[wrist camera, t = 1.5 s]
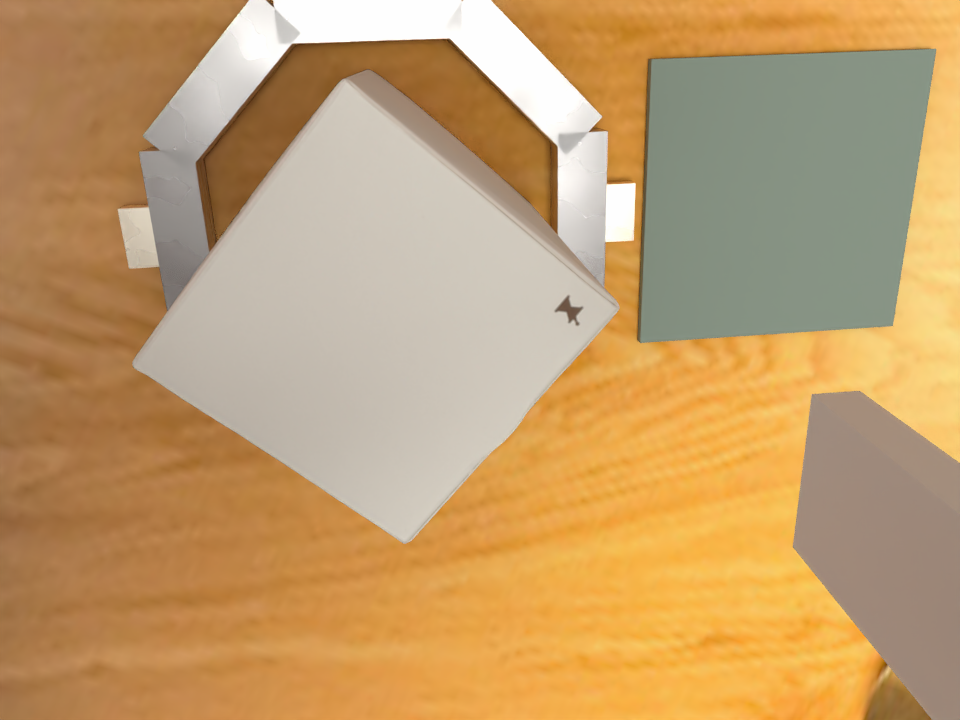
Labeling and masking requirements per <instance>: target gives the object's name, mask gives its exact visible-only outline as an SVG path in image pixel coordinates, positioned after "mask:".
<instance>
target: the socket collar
mask: <svg viewBox="0 0 960 720" xmlns="http://www.w3.org/2000/svg"><path fill="white" fill-rule="evenodd" d="M273 3H274V5H273V4H272V3H271V2H270V1H269V0H249V1H248V2H247V4H246V5H245V6H244V8H243V9H242V10H241V11H240V13H239V14H238V15H237V16H236V18H235V19H234V20H233V22H232V23H231V24H230V25H229V27H228V28H227V29H226V30H225V32H224V33H223V34H222V36H221V37H220V38H219V39H218V41H217V42H216V43H215V44H214V46H213V47H212V48H211V49H210V51H209V52H208V53H207V55H206V56H205V57H204V58H203V60H202V61H201V62H200V63H199V65H198V66H197V67H196V69H195V70H194V71H193V72H192V74H191V75H190V76H189V77H188V79H187V80H186V81H185V83H184V84H183V85H182V86H181V88H180V89H179V90H178V91H177V93H176V94H175V95H174V97H173V98H172V99H171V100H170V102H169V103H168V104H167V105H166V107H165V108H164V109H163V110H162V112H161V113H160V114H159V116H158V117H157V118H156V119H155V121H154V122H153V123H152V124H151V126H150V127H149V128H148V130H147V131H146V132H145V133H144V135H143V137H144V138H145V139H147V140H148V141H149V142H150V143H151V144H153V145H154V146H155V147H154V148H148V149H145V150H142V151H139V156H140V162H141V167H142V173H143V178H144V184H145V189H146V195H147V201H148V204H144V205H124V206H122V207H120V208H118V214H119V219H120V224H121V229H122V234H123V240H124V245H125V250H126V255H127V260H128V266H129V269H130V268H148V267H159V268H160V273H161V279H162V284H163V290H164V296H165V301H166V307H167V311H168V310H169V308H170V307H171V306H172V304H173V303H174V301H175V300H176V298H177V297H178V296H179V294H180V293H181V291H182V290H183V289H184V287H185V286H186V284H187V283H188V282H189V280H190V279H191V277H192V276H193V275H194V273H195V272H196V270H197V269H198V268H199V266H200V265H201V263H202V262H203V261H204V259H205V258H206V256H207V255H208V254H209V252H210V251H211V250H212V248H213V247H214V245H215V244H216V243H217V241H216V235H215V228H214V222H213V215H212V208H211V202H210V195H209V189H208V182H207V175H206V169H205V162H204V158H205V156H206V155H207V154H208V153H209V151H210V150H211V149H212V148H213V147H214V145H215V144H216V143H217V142H218V140H219V139H220V138H221V137H222V135H223V134H224V133H225V132H226V131H227V129H228V128H229V127H230V126H231V124H232V123H233V122H234V121H235V119H236V118H237V117H238V116H239V115H240V113H241V112H242V111H243V110H244V108H245V107H246V106H247V105H248V103H249V102H250V101H251V100H252V98H253V97H254V96H255V95H256V94H257V92H258V91H259V90H260V89H261V87H262V86H263V85H264V84H265V82H266V81H267V80H268V79H269V78H270V76H271V75H272V74H273V73H274V71H275V70H276V69H277V68H278V66H279V65H280V64H281V63H282V62H283V60H284V59H285V58H286V57H287V55H288V54H289V53H290V52H291V50H292V49H293V48H294V47H295V46H296V44H318V43H348V42H378V41H408V40H438V39H447V40H448V41H449V42H450V43H451V44H452V45H453V46H454V47H455V48H456V49H457V50H458V51H459V52H460V53H461V54H462V55H463V56H464V57H465V58H466V59H467V60H468V61H469V62H470V63H471V64H472V65H473V66H474V67H475V68H476V69H477V70H478V71H479V72H480V73H481V74H482V75H483V76H484V77H485V78H486V79H487V80H488V81H489V82H490V83H491V84H492V85H493V86H494V87H495V88H496V89H497V90H498V91H499V92H500V93H501V94H503V95H504V96H505V97H506V98H507V99H508V100H509V101H510V102H511V103H512V104H513V105H514V106H515V107H516V108H517V109H518V110H519V111H520V112H521V113H522V114H523V115H524V116H525V117H526V118H527V119H528V120H529V121H530V122H531V123H532V124H533V125H534V126H535V127H536V128H537V129H538V130H539V131H540V132H541V133H542V134H543V135H544V136H545V137H546V138H547V139H548V140H549V141H550V142H551V228H552V229H553V230H554V231H555V232H556V234H557V235H558V236H559V237H560V238H561V239H562V241H563V242H564V243H565V244H566V245H567V246H568V247H569V249H570V250H571V251H572V252H573V253H574V254H575V255H576V257H577V258H578V259H579V260H580V261H581V262H582V263H583V265H584V266H585V267H586V268H587V269H588V270H589V271H590V272H591V274H592V275H593V276H594V277H595V278H596V279H597V280H598V281H599V283H600V284H601V285H602V286H603V287H604V278H605V242H615V241H633V239H634V210H635V183H634V182H632V181H612V182H607V146H608V131H606V130H603V129H600V128H592V127H593V126H594V125H595V124H596V123H597V122H598V121H599V120H600V119H601V118H602V116H601V115H600V114H599V113H598V112H597V111H596V110H595V108H594V107H593V106H592V105H591V104H590V103H589V102H588V101H587V100H586V99H585V98H584V97H583V96H582V95H581V94H580V93H579V92H578V91H577V90H576V89H575V88H574V87H573V86H572V84H571V83H570V82H569V81H568V80H567V79H566V78H565V77H564V76H563V75H562V74H561V73H560V72H559V71H558V70H557V69H556V68H555V67H554V66H553V65H552V64H551V63H550V62H549V61H548V59H547V58H546V57H545V56H544V55H543V54H542V53H541V52H540V51H539V50H538V49H537V48H536V47H535V46H534V45H533V44H532V43H531V42H530V41H529V40H528V39H527V38H526V37H525V35H524V34H523V33H522V32H521V31H520V30H519V29H518V28H517V27H516V26H515V25H514V24H513V23H512V22H511V21H510V20H509V19H508V18H507V17H506V16H505V15H504V14H503V13H502V12H501V10H500V9H499V8H498V7H497V6H496V5H495V4H494V3H493V2H492V1H491V0H273ZM591 128H592V129H591Z"/></svg>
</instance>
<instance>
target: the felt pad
mask: <svg viewBox="0 0 960 720" xmlns="http://www.w3.org/2000/svg"><path fill="white" fill-rule="evenodd" d="M935 55H936V49H918V50H890V51H862V52H835V53H807V54H779V55H752V56H724V57H696V58H669V59H649V63H648V89H647V114H646V140H645V165H644V191H643V217H642V242H641V268H640V294H639V319H638V341H639V342H640V343H645V342H660V341H675V340H690V339H705V338H720V337H735V336H750V335H765V334H780V333H795V332H810V331H825V330H840V329H855V328H870V327H885V326H893V321H894V315H895V308H896V302H897V296H898V289H899V283H900V277H901V270H902V264H903V258H904V251H905V245H906V239H907V232H908V226H909V220H910V213H911V207H912V201H913V194H914V188H915V182H916V175H917V169H918V162H919V156H920V150H921V143H922V137H923V131H924V124H925V118H926V112H927V105H928V99H929V93H930V86H931V80H932V74H933V67H934V61H935Z"/></svg>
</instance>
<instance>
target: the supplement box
mask: <svg viewBox="0 0 960 720" xmlns="http://www.w3.org/2000/svg"><path fill="white" fill-rule="evenodd" d="M618 310H619V304H618V303H617V301H616V300H615V299H614V298H613V297H612V296H611V295H610V294H609V293H608V292H607V290H606V289H605V288H604V287H603V286H602V285H601V284H600V283H599V281H598V280H597V279H596V278H595V277H594V276H593V275H592V274H591V272H590V271H589V270H588V269H587V268H586V267H585V266H584V265H583V263H582V262H581V261H580V260H579V259H578V258H577V257H576V255H575V254H574V253H573V252H572V251H571V250H570V249H569V247H568V246H567V245H566V244H565V243H564V242H563V241H562V239H561V238H560V237H559V236H558V235H557V234H556V232H555V231H554V230H553V229H552V228H551V227H550V226H549V224H548V223H547V222H546V221H545V220H544V219H543V218H542V216H541V215H540V214H539V213H538V212H537V211H536V210H535V208H534V207H533V206H532V205H531V204H530V203H529V202H528V201H527V200H526V199H525V198H524V197H523V196H522V195H520V194H519V193H518V192H517V191H516V190H515V189H514V188H513V187H511V186H510V185H509V184H508V183H507V182H506V181H505V180H504V179H503V178H501V177H500V176H499V175H498V174H497V173H496V172H495V171H494V170H492V169H491V168H490V167H489V166H488V165H487V164H486V163H484V162H483V161H482V160H481V159H480V158H479V157H478V156H476V155H475V154H474V153H473V152H472V151H471V150H470V149H468V148H467V147H466V146H465V145H464V144H463V143H461V142H460V141H459V140H458V139H457V138H456V137H454V136H453V135H452V134H451V133H450V132H449V131H447V130H446V129H445V128H444V127H443V126H441V125H440V124H439V123H438V122H437V121H436V120H434V119H433V118H432V117H431V116H430V115H428V114H427V113H426V112H425V111H424V110H423V109H421V108H420V107H419V106H418V105H417V104H416V103H414V102H413V101H412V100H411V99H409V98H408V97H407V96H405V95H404V94H403V93H402V92H400V91H399V90H398V89H396V88H395V87H394V86H393V85H391V84H390V83H389V82H388V81H386V80H385V79H384V78H382V77H381V76H379V75H378V74H377V73H375V72H373V71H372V70H370V69H367V70H365V71H362V72H360V73H357V74H355V75H352V76H349V77H347V78H345V79H342V80H341V81H340V82H339V83H338V84H337V85H336V86H335V88H334V89H333V90H332V91H331V93H330V94H329V95H328V97H327V98H326V99H325V100H324V102H323V103H322V104H321V105H320V107H319V108H318V109H317V110H316V112H315V113H314V114H313V115H312V117H311V118H310V119H309V120H308V122H307V123H306V124H305V125H304V127H303V128H302V129H301V131H300V132H299V133H298V134H297V136H296V137H295V138H294V140H293V141H292V142H291V143H290V145H289V146H288V147H287V149H286V150H285V151H284V152H283V154H282V155H281V156H280V158H279V159H278V160H277V161H276V163H275V164H274V165H273V167H272V168H271V169H270V171H269V172H268V173H267V175H266V176H265V177H264V179H263V180H262V181H261V183H260V184H259V185H258V187H257V188H256V189H255V190H254V192H253V193H252V195H251V196H250V197H249V199H248V200H247V202H246V203H245V204H244V206H243V207H242V208H241V210H240V211H239V213H238V214H237V215H236V217H235V218H234V219H233V221H232V222H231V223H230V225H229V226H228V228H227V229H226V230H225V232H224V233H223V234H222V236H221V237H220V239H219V240H218V241H217V243H216V244H215V245H214V247H213V248H212V250H211V251H210V252H209V254H208V255H207V256H206V258H205V259H204V261H203V262H202V263H201V265H200V266H199V268H198V269H197V270H196V272H195V273H194V275H193V276H192V277H191V279H190V280H189V282H188V283H187V284H186V286H185V287H184V289H183V290H182V291H181V293H180V294H179V296H178V297H177V298H176V300H175V301H174V303H173V304H172V306H171V307H170V308H169V310H168V311H167V313H166V314H165V316H164V317H163V318H162V320H161V321H160V323H159V324H158V326H157V327H156V328H155V330H154V331H153V333H152V334H151V336H150V337H149V338H148V340H147V341H146V343H145V344H144V345H143V347H142V348H141V349H140V351H139V352H138V354H137V355H136V356H135V358H134V360H133V362H132V364H133V368H135V369H136V370H138V371H140V372H142V373H144V374H145V375H147V376H149V377H150V378H152V379H153V380H155V381H156V382H158V383H159V384H161V385H162V386H164V387H165V388H167V389H168V390H170V391H171V392H173V393H174V394H176V395H177V396H179V397H180V398H182V399H183V400H185V401H186V402H188V403H189V404H191V405H193V406H194V407H196V408H197V409H199V410H200V411H202V412H203V413H205V414H207V415H209V416H211V417H212V418H213V419H215V420H216V421H218V422H219V423H221V424H223V425H224V426H226V427H228V428H229V429H231V430H232V431H234V432H236V433H237V434H239V435H240V436H242V437H243V438H245V439H246V440H248V441H249V442H251V443H252V444H254V445H256V446H257V447H259V448H260V449H262V450H263V451H265V452H266V453H268V454H270V455H271V456H273V457H274V458H276V459H277V460H279V461H280V462H282V463H283V464H285V465H286V466H288V467H289V468H291V469H292V470H294V471H295V472H297V473H298V474H300V475H301V476H303V477H304V478H306V479H307V480H309V481H310V482H312V483H314V484H315V485H317V486H318V487H320V488H321V489H323V490H324V491H326V492H327V493H328V494H330V495H331V496H333V497H334V498H336V499H337V500H339V501H340V502H342V503H343V504H345V505H346V506H348V507H350V508H351V509H353V510H354V511H356V512H357V513H359V514H360V515H362V516H363V517H365V518H366V519H368V520H369V521H371V522H372V523H374V524H376V525H377V526H379V527H380V528H381V529H383V530H384V531H386V532H387V533H389V534H390V535H392V536H393V537H395V538H396V539H398V540H399V541H401V542H402V543H404V544H406V543H408V542H410V541H411V540H412V539H413V538H414V537H415V536H416V535H417V534H418V533H419V532H420V531H421V529H422V528H423V527H424V526H425V525H426V524H427V523H428V522H429V521H430V519H431V518H432V517H433V516H434V515H435V514H436V513H437V512H438V511H439V509H440V508H441V507H442V506H443V505H444V504H445V503H446V502H447V501H448V499H449V498H450V497H451V496H452V495H453V494H454V493H455V492H456V491H457V489H458V488H459V487H460V486H461V485H462V484H463V483H464V482H465V481H466V479H467V478H468V477H469V476H470V475H471V474H472V473H473V472H474V470H475V469H476V468H477V467H478V466H479V465H480V464H481V463H482V462H483V461H484V460H485V458H486V457H487V456H488V455H489V454H490V453H491V452H492V451H493V450H495V449H496V448H497V447H498V446H499V445H501V444H502V443H503V442H504V441H505V440H506V439H507V438H508V437H509V436H510V435H511V434H512V433H513V432H514V430H515V429H516V428H517V427H518V425H519V424H520V422H521V421H522V420H523V418H524V417H525V415H526V413H527V412H528V411H529V410H530V409H531V408H532V406H533V405H534V404H535V403H536V402H537V401H538V400H539V399H540V397H541V396H542V395H543V394H544V393H545V392H546V391H547V390H548V388H549V387H550V386H551V385H552V384H553V383H554V382H555V380H556V379H557V378H558V377H559V376H560V375H561V374H562V373H563V372H564V371H565V370H566V369H567V367H568V366H569V365H570V364H571V363H572V362H573V361H574V360H575V359H576V358H577V357H578V356H579V355H580V353H581V352H582V351H583V350H584V349H585V348H586V347H587V346H588V345H589V344H590V343H591V341H592V340H593V339H594V338H595V337H596V336H597V334H598V333H599V332H600V331H601V330H602V329H603V328H604V327H605V326H606V324H607V323H608V322H609V321H610V320H611V319H612V318H613V316H614V315H615V314H616V313H617V312H618Z"/></svg>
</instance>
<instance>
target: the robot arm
mask: <svg viewBox="0 0 960 720" xmlns="http://www.w3.org/2000/svg"><path fill="white" fill-rule="evenodd" d="M793 548H794V549H795V550H796V551H797V553H798V554H799V555H800V556H801V558H802V559H803V560H804V561H805V563H806V564H807V565H808V566H809V568H810V569H811V570H812V571H813V572H814V574H815V575H816V576H817V577H818V579H819V580H820V581H821V582H822V584H823V585H824V586H825V587H826V589H827V590H828V591H829V592H830V594H831V595H832V596H833V597H834V599H835V600H836V601H837V602H838V603H839V605H840V606H841V607H842V608H843V610H844V611H845V612H846V613H847V615H848V616H849V617H850V618H851V620H852V621H853V622H854V623H855V625H856V626H857V627H858V628H859V629H860V631H861V632H862V633H863V634H864V636H865V637H866V638H867V639H868V641H869V642H870V643H871V644H872V646H873V647H874V648H875V649H876V651H877V652H878V653H879V654H880V656H881V657H882V658H883V659H884V660H885V662H886V663H887V664H888V665H889V667H890V668H891V669H892V670H893V672H894V673H895V674H896V675H897V677H898V678H899V679H900V680H901V682H902V683H903V684H904V685H905V687H906V688H907V689H908V690H909V691H910V693H911V694H912V695H913V696H914V698H915V699H916V700H917V701H918V703H919V704H920V705H921V706H922V708H923V709H924V710H925V711H926V713H927V714H928V715H929V716H930V717H931V719H932V720H960V463H959V462H957V461H956V460H955V459H953V458H952V457H950V456H949V455H948V454H946V453H945V452H944V451H942V450H941V449H939V448H938V447H937V446H935V445H934V444H932V443H931V442H930V441H928V440H927V439H926V438H924V437H923V436H921V435H920V434H919V433H917V432H916V431H914V430H913V429H912V428H910V427H909V426H908V425H906V424H905V423H903V422H902V421H901V420H899V419H898V418H896V417H895V416H894V415H892V414H891V413H890V412H888V411H887V410H885V409H884V408H883V407H881V406H880V405H878V404H877V403H876V402H874V401H873V400H872V399H870V398H869V397H867V396H866V395H865V394H863V393H862V392H860V391H852V392H837V393H823V394H812V398H811V406H810V414H809V422H808V430H807V438H806V446H805V454H804V462H803V470H802V478H801V486H800V494H799V502H798V510H797V518H796V526H795V534H794V542H793Z"/></svg>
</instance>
